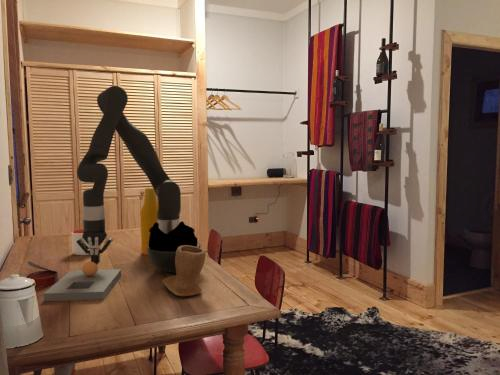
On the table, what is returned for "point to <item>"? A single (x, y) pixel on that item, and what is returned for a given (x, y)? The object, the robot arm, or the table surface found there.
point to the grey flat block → (83, 286)
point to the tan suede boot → (186, 271)
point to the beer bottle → (148, 217)
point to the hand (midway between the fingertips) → (95, 264)
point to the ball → (89, 268)
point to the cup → (75, 247)
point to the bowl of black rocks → (169, 245)
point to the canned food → (43, 276)
